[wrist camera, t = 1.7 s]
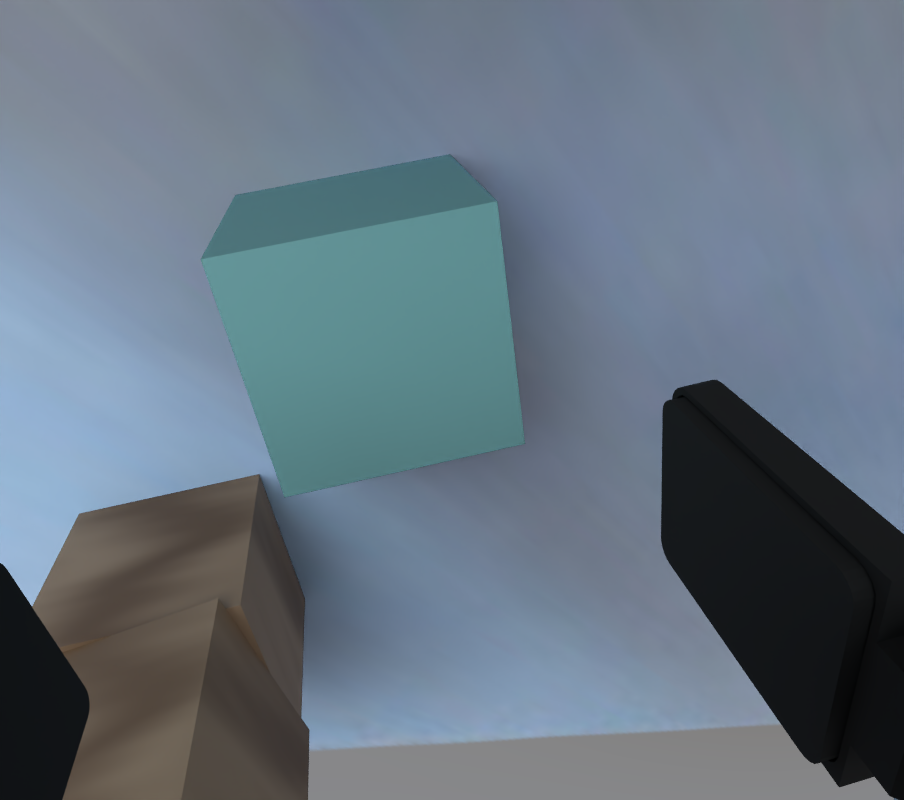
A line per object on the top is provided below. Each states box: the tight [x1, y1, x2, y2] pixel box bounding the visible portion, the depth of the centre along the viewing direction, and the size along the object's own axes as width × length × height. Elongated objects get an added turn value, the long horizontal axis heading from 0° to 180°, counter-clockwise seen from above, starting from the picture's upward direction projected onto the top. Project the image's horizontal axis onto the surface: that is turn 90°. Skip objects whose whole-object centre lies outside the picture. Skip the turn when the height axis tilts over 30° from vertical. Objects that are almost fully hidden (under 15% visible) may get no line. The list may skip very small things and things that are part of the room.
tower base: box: [32, 474, 305, 717], centre depth 21 cm, size 6×6×6 cm
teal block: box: [201, 154, 525, 497], centre depth 17 cm, size 6×6×6 cm
